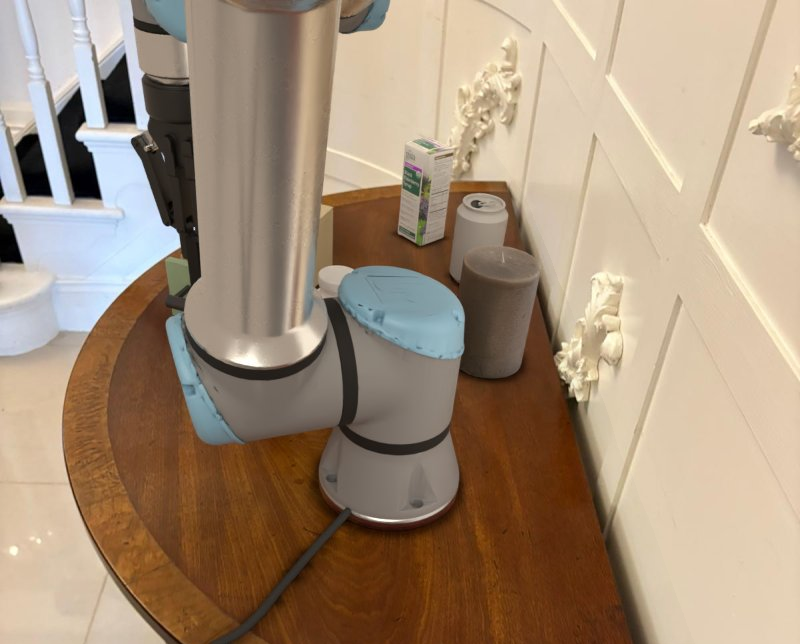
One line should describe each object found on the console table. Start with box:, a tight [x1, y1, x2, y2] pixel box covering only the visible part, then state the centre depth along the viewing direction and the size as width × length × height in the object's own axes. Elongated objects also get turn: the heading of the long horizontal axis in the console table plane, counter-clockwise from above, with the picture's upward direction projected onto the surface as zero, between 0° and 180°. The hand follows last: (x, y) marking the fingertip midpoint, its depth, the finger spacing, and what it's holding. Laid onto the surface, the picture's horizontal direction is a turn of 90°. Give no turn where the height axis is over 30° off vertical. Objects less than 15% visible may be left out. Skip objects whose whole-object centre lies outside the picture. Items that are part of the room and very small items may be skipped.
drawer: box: [164, 253, 191, 316], centre depth 105 cm, size 18×12×8 cm
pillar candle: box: [457, 245, 543, 379], centre depth 100 cm, size 10×10×15 cm
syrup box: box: [397, 136, 456, 247], centre depth 125 cm, size 6×6×14 cm
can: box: [449, 192, 509, 284], centre depth 117 cm, size 8×8×12 cm
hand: (201, 284), depth 98 cm, fingers closed
